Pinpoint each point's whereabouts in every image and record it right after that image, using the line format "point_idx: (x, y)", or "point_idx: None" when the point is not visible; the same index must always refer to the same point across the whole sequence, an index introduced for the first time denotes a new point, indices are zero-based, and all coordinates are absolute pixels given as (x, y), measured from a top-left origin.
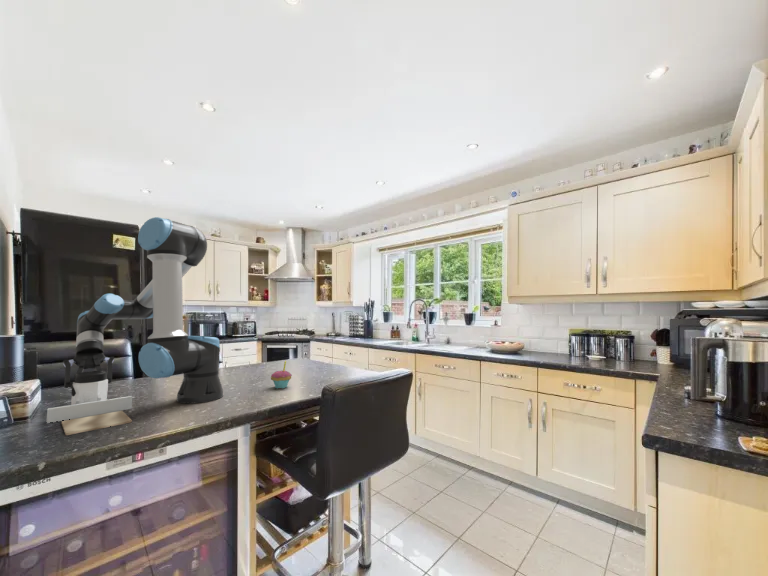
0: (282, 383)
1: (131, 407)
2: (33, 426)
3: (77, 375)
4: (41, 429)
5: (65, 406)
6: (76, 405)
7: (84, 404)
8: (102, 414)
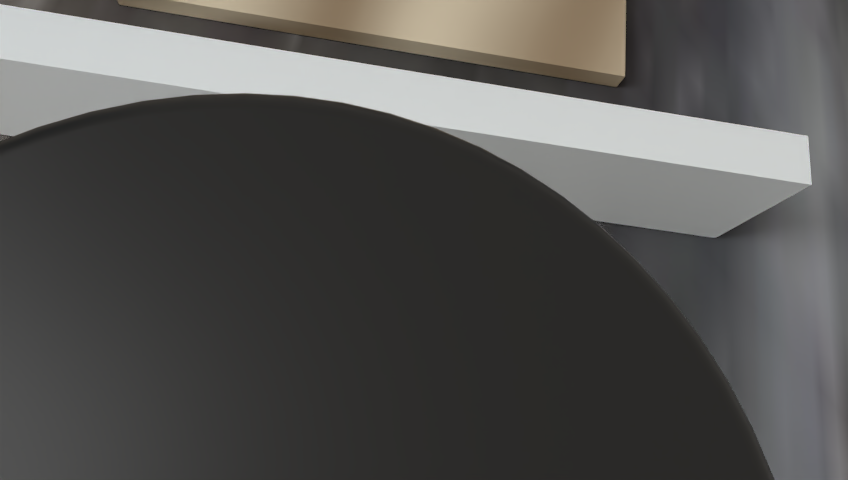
0: None
1: None
2: (798, 192)
3: (745, 425)
4: (745, 31)
5: (648, 124)
6: (541, 94)
7: (459, 86)
8: (304, 6)
